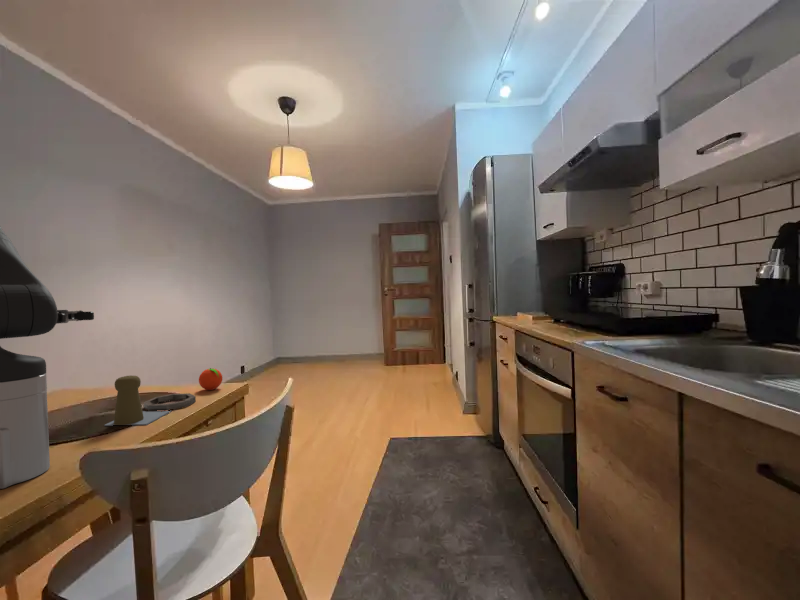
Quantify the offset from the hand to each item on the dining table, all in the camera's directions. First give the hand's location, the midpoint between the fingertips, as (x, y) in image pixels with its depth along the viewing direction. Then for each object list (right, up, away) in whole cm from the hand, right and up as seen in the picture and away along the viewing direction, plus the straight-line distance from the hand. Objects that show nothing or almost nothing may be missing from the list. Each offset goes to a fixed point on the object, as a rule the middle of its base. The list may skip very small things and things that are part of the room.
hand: (79, 316), depth 94 cm
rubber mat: (+15, -26, +1) cm, 30 cm away
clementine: (+19, -25, +28) cm, 43 cm away
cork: (+14, -26, -2) cm, 29 cm away
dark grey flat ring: (+15, -26, +12) cm, 32 cm away
